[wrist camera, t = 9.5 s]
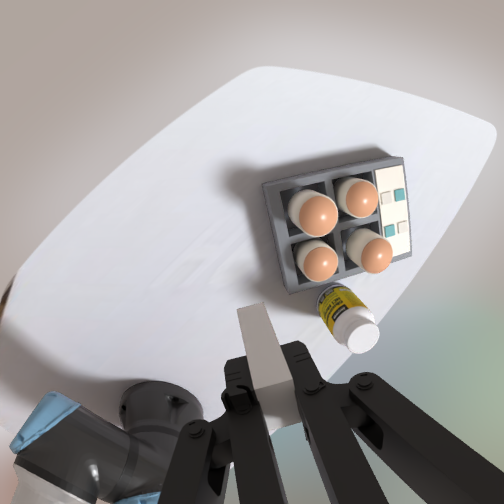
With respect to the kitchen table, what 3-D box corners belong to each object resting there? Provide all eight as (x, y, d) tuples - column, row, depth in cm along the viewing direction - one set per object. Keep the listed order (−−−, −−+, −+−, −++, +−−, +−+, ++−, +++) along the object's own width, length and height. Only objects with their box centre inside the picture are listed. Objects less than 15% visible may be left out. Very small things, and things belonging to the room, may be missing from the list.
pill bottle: (324, 279, 48) (354, 314, 37) (357, 287, 49) (392, 321, 39) (309, 315, 49) (334, 356, 39) (342, 321, 51) (372, 360, 40)
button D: (334, 215, 44) (348, 222, 40) (328, 180, 43) (342, 184, 38) (365, 207, 45) (381, 214, 40) (360, 173, 43) (376, 176, 38)
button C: (347, 266, 44) (362, 279, 40) (343, 233, 43) (358, 243, 38) (378, 256, 45) (394, 268, 40) (374, 224, 43) (392, 233, 38)
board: (284, 285, 47) (290, 295, 44) (261, 183, 42) (266, 186, 39) (401, 249, 48) (413, 256, 45) (392, 156, 43) (404, 157, 40)
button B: (291, 231, 42) (302, 242, 37) (283, 194, 40) (294, 200, 35) (327, 222, 42) (341, 231, 37) (321, 185, 40) (335, 190, 36)
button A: (296, 273, 46) (305, 287, 42) (289, 241, 45) (299, 251, 40) (328, 264, 46) (341, 276, 42) (323, 231, 45) (336, 241, 40)
